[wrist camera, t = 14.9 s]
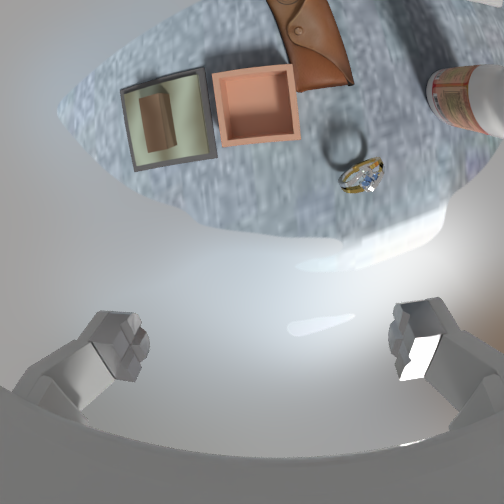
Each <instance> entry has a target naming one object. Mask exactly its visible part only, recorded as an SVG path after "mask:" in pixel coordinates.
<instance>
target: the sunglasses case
mask: <svg viewBox="0 0 504 504" xmlns="http://www.w3.org/2000/svg"><path fill="white" fill-rule="evenodd" d="M266 1H267V3H268V4H269V6H270V8H271V10H272V12H273V14H274V17H275V19H276V22H277V24H278V27H279V30H280V32H281V35H282V38H283V42H284V44H285V47H286V50H287V54H288V57H289V61H290V64H292V65H293V73H294V80H295V88H296V91H297V92H300V93H302V92H303V91H306V90H313V89H321V88H327V87H335V86H342V85H347V84H348V86H352V85H354V80H353V76H352V72H351V68H350V64H349V61H348V57H347V54H346V51H345V47H344V44H343V41H342V38H341V36H340V33H339V30H338V27H337V24H336V22H335V19H334V16H333V14H332V11H331V9H330V6H329V4H328V2H327V0H266Z"/></svg>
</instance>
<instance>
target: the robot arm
mask: <svg viewBox="0 0 504 504" xmlns="http://www.w3.org/2000/svg"><path fill="white" fill-rule="evenodd" d="M468 1H473V2H477V3H482V4H486V5H490V6H494V7H498V8H499V7H502V4H503V0H468ZM393 316H394V318H395V320H394V321H393V322H392V323H391V324H390V328H389V334H388V336H389V338H388V341H389V347H390V351H391V354H393V355H394V356H395V357H397V359H396V362H395V367H396V370H397V373H398V376H399V380H400V381H401V380H408V379H414V378H419V377H424V378H425V379H426V380H427V381H428V382H429V383H430V384H431V385H432V386H433V387H434V388H435V389H436V390H437V391H438V392H439V393H440V394H441V395H442V396H443V397H444V398H445V399H446V400H447V401H448V402H449V403H450V404H451V405H452V406H454V407H455V408H456V409H457V410H458V411H459V413H458V415H457V416H456V417H455V418H454V420H453V421H452V422H451V424H450V425H449V430H450V431H449V432H446V433H443V434H439V435H436V436H433V437H429V438H425V439H422V440H418V441H414V442H410V443H406V444H401V445H397V446H392V447H387V448H382V449H376V450H370V451H364V452H357V453H349V454H340V455H330V456H317V457H298V458H260V457H239V456H226V455H216V454H207V453H200V452H192V451H186V450H180V449H174V448H169V447H163V446H159V445H154V444H149V443H145V442H141V441H137V440H133V439H129V438H125V437H122V436H118V435H115V434H111V433H108V432H104V431H102V430H98V429H96V428H93V427H90V426H87V425H88V419H87V418H86V417H85V416H84V415H83V414H82V413H81V410H82V409H84V408H85V407H86V406H87V405H88V404H89V403H90V402H91V401H93V400H94V399H95V398H96V397H97V396H98V395H99V394H100V393H102V392H103V391H104V390H105V389H106V388H107V387H108V386H110V385H111V384H112V383H113V382H114V381H115V379H117V380H123V381H130V382H135V381H136V379H137V377H138V375H139V373H140V370H141V368H142V367H141V364H140V362H141V361H143V360H144V359H146V358H147V355H148V353H149V348H150V342H149V337H148V335H147V332H146V331H145V330H143V329H142V328H141V327H140V326H141V323H142V321H141V319H140V317H139V315H138V314H136V313H130V312H116V311H99V312H97V313H96V315H95V316H94V317H93V319H92V320H91V321H90V323H89V324H88V326H87V327H86V328H85V330H84V331H83V333H82V334H81V335H80V336H79V338H78V339H77V340H73V341H71V342H70V343H68V344H66V345H64V346H63V347H61V348H60V349H58V350H56V351H55V352H53V353H51V354H50V355H48V356H46V357H45V358H43V359H42V360H40V361H38V362H37V363H35V364H33V365H32V366H30V367H29V368H28V369H27V370H26V371H25V373H24V374H23V376H22V377H21V379H20V380H19V382H18V383H17V385H16V386H15V388H14V389H13V391H12V392H10V391H9V390H7V389H5V388H3V387H2V386H0V504H504V354H503V353H501V352H499V351H497V350H496V349H495V348H493V347H491V346H490V345H488V344H487V343H485V342H483V341H482V340H480V339H479V338H477V337H475V336H473V335H472V334H470V333H469V332H467V331H465V330H463V331H461V330H460V328H459V327H458V325H457V323H456V321H455V320H454V318H453V316H452V315H451V313H450V311H449V310H448V308H447V307H446V305H445V304H444V302H443V300H442V299H441V298H439V297H436V298H430V299H425V300H419V301H410V302H403V303H396V305H395V307H394V310H393Z"/></svg>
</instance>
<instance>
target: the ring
mask: <svg viewBox="0 0 504 504" xmlns="http://www.w3.org/2000/svg"><path fill="white" fill-rule="evenodd" d="M378 165H379V171H378V172H377V171H376V172H372V169H373V168H375V167H376V166H378ZM362 168H363V169H362ZM360 169H362V170H361V171H360V172H359V173H358V174H357V175H356V176H355V177H354V178H353V179H352V180H350V181H348V182H345V181H346V179H347V178H348V177H349V176H350V175H351V174H353V173H354V172H358V171H359V170H360ZM366 171H368V172H366ZM365 172H366V174H364V173H365ZM384 173H385V166H384V164H383V162H382V160H381V158H380V157H375V158H371V159H368V160H365V161H363V162H360V163H358V164H355V165H353V166H351V167H350V168H349V169H347V170H346V171H345V172H344V173H343V174H342V175H341V176H340V177H339V179H338V183H339V185H340V187H341V188H342V190H343V191H344V192H346V193H359V192H363V191H366V192H371V191H373V190H374V189H375V188H376V187H377V186H378V184H379V183H380V181H381V179H382V177H383V175H384ZM361 176H362V177H363V178H364V180H363V181H360V182H359V185H358V186H354V187H350V186H351V185H353V184H354V183H355V182H357V181H358V180H359V178H360V177H361ZM368 185H370V186H368ZM366 186H368V187H366Z"/></svg>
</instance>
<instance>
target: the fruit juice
mask: <svg viewBox="0 0 504 504" xmlns="http://www.w3.org/2000/svg"><path fill="white" fill-rule="evenodd" d="M426 94H427V100H428V103H429V106H430V108H431V110H432V111H433V113H434V114H435V115H436V116H437V118H439V119H440V120H441V121H442V122H444V123H446V124H448V125H450V126H455V127H459V128H463V129H468V130H472V131H476V132H480V133H484V134H487V135H491V136H494V137H497V138H502V139H504V66H501V65H494V64H484V65H473V66H463V67H454V68H447V69H441V70H438V71H436V72H435V73H434V74H432V76H431V77H430V78H429V80H428V83H427V89H426Z"/></svg>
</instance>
